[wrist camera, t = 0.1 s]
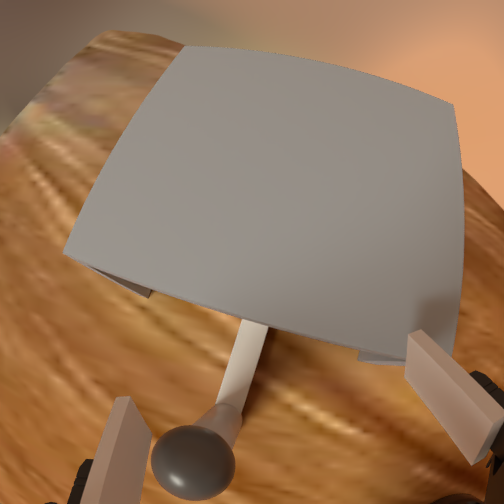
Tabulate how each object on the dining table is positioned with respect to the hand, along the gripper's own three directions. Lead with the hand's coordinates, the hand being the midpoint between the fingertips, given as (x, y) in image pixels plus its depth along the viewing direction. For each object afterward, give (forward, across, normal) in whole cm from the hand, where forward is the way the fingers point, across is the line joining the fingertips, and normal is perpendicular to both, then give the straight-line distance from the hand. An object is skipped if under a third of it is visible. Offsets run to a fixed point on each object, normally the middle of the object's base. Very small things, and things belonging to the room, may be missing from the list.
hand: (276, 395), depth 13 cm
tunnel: (+22, -6, -5) cm, 23 cm away
